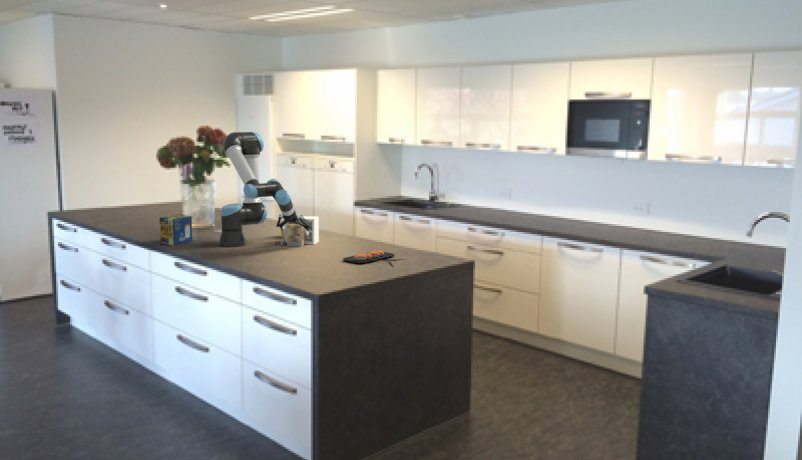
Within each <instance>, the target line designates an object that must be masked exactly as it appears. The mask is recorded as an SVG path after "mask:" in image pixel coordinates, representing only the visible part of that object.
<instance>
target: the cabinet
mask: <svg viewBox="0 0 802 460" xmlns="http://www.w3.org/2000/svg"><path fill="white" fill-rule="evenodd" d="M302 216H303V218H305V219H306V220H307V221H308V222H309V223H310V224H311V227H310V228H309V234H308V236H307V235H306V232H305V228H304V245H316V244H317V243H319V242H320V217H319V216H311V215H310V216H308V215H307V216H306V215H305V216H304V215H302ZM296 221H297V220H296ZM288 224H296V223H293V222H287V223H286V224H285V228H286V235H285V239H283V240H282V241H280V247H281V246H284V245H287V246H286V247H300V246H301V242H291V241H287V225H288ZM296 225H299V224H296ZM301 247H302V246H301Z"/></svg>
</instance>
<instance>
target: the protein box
mask: <svg viewBox="0 0 802 460" xmlns="http://www.w3.org/2000/svg"><path fill="white" fill-rule="evenodd" d="M159 233H160V234H159V235H160V244H161V245H170V246H177V245H181V244H186V243H190V242H193V220H192V215H185V214H174V215H173V214H171V215H167V216H162V217H161V216H160V217H159Z"/></svg>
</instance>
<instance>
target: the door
mask: <svg viewBox="0 0 802 460" xmlns="http://www.w3.org/2000/svg"><path fill="white" fill-rule="evenodd" d="M287 241H291V242H301V247H304V245H305V244H304V227H302V226H301V225H296V224H288V225H287Z"/></svg>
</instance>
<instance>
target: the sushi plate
mask: <svg viewBox="0 0 802 460" xmlns="http://www.w3.org/2000/svg"><path fill="white" fill-rule="evenodd" d="M395 254H396V253H392V252H387V251H381V250H373V251H370V252H365V253H359V254H356V255H355V254H354V255H352V256H347V257H343V258H342V260H344V261H345V262H350V263H355V264H364V263H369V262H373V261H374V262H375V261H376V262H379V261H380V262H381V261H383V262H384V261H385V262H386V261H388V262H389V264H390V266H391V267H392V268H394V265H393V263H392V262H391V261H403V260H404V261H405V260H406V258H397V259H393V258H392V259H390V258H391V257H394V256H395Z"/></svg>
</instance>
